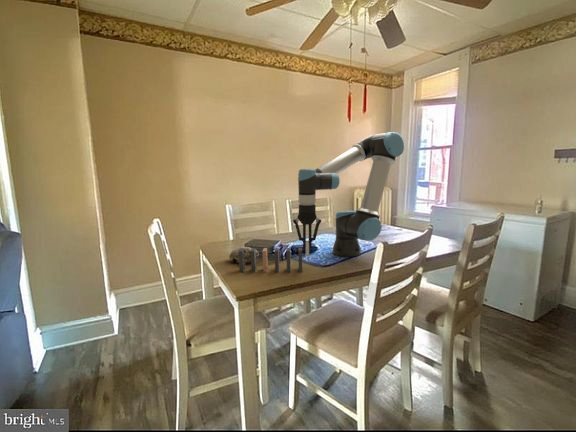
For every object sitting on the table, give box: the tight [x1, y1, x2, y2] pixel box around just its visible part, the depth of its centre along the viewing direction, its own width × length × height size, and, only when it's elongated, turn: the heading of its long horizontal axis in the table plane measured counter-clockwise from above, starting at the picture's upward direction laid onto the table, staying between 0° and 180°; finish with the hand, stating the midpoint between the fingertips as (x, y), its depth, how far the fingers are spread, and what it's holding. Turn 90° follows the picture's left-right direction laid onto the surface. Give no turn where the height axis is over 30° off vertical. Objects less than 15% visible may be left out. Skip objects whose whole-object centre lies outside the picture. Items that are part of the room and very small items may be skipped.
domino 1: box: [238, 248, 246, 273], centre depth 142 cm, size 2×5×10 cm, turn 177°
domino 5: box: [286, 247, 292, 273], centre depth 141 cm, size 2×5×10 cm, turn 178°
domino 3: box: [261, 247, 269, 273], centre depth 141 cm, size 2×5×10 cm, turn 178°
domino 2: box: [250, 247, 257, 273], centre depth 142 cm, size 2×5×10 cm, turn 177°
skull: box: [228, 246, 260, 264], centre depth 155 cm, size 10×16×10 cm
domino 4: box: [274, 247, 280, 273], centre depth 141 cm, size 2×5×10 cm, turn 178°
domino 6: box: [297, 247, 303, 273], centre depth 141 cm, size 2×5×10 cm, turn 178°
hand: (307, 255), depth 140 cm, fingers closed
